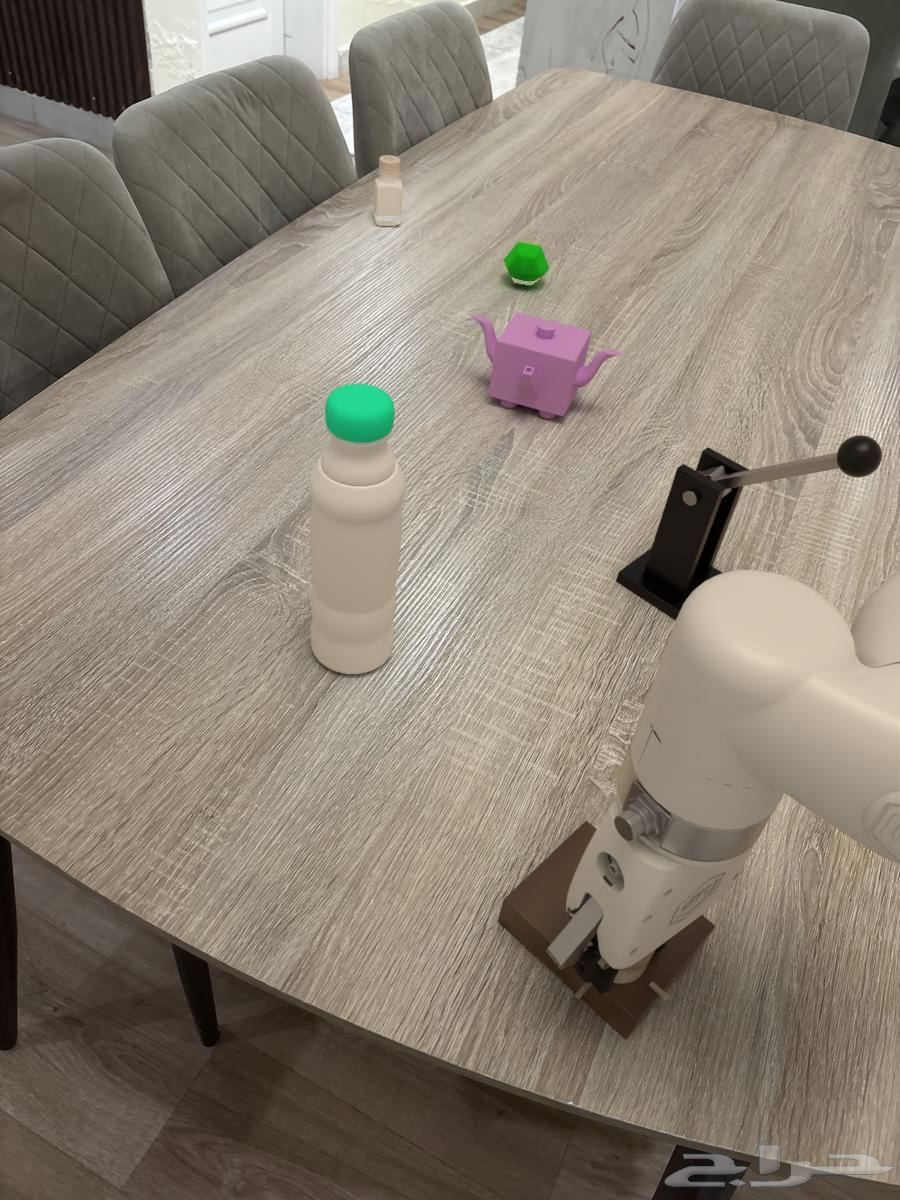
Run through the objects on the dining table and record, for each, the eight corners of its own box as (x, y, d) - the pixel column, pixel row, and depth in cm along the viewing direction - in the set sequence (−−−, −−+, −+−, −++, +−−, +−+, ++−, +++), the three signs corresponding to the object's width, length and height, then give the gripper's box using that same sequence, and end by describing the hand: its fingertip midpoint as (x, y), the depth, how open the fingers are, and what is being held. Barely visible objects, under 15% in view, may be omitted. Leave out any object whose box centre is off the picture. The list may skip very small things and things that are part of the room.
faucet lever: (894, 464, 72) (882, 425, 71) (876, 480, 70) (863, 440, 69) (710, 497, 85) (698, 464, 84) (691, 511, 83) (679, 477, 83)
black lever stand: (729, 587, 92) (776, 473, 82) (684, 625, 87) (728, 509, 78) (662, 546, 95) (700, 431, 86) (615, 580, 91) (650, 464, 81)
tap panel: (710, 952, 64) (724, 930, 62) (618, 1066, 58) (630, 1046, 56) (578, 842, 69) (586, 818, 67) (481, 936, 63) (487, 913, 61)
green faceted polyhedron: (529, 242, 128) (537, 217, 134) (491, 265, 131) (501, 239, 138) (556, 285, 131) (563, 258, 138) (519, 307, 135) (527, 280, 141)
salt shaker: (401, 228, 145) (404, 164, 139) (375, 227, 145) (377, 163, 138) (398, 217, 148) (401, 154, 142) (373, 216, 147) (375, 153, 141)
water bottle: (378, 611, 84) (392, 364, 67) (404, 668, 80) (426, 418, 63) (301, 627, 82) (296, 375, 65) (323, 686, 78) (324, 432, 60)
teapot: (442, 408, 110) (451, 332, 103) (478, 358, 119) (488, 284, 112) (591, 450, 106) (609, 374, 100) (616, 395, 116) (634, 322, 109)
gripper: (626, 931, 41) (554, 1082, 54) (856, 766, 49) (746, 931, 62) (520, 808, 45) (477, 974, 58) (748, 674, 53) (666, 846, 66)
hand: (617, 950), depth 60 cm, fingers closed on tap knob, 4 cm apart
